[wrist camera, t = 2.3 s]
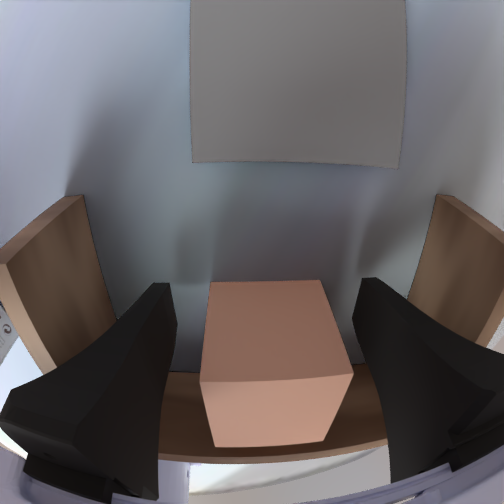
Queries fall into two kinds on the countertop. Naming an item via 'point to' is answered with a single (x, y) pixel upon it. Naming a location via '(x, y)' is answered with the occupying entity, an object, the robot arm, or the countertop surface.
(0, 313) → the skincare box
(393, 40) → the mat
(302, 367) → the block
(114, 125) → the countertop surface
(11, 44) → the countertop surface
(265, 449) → the open box
